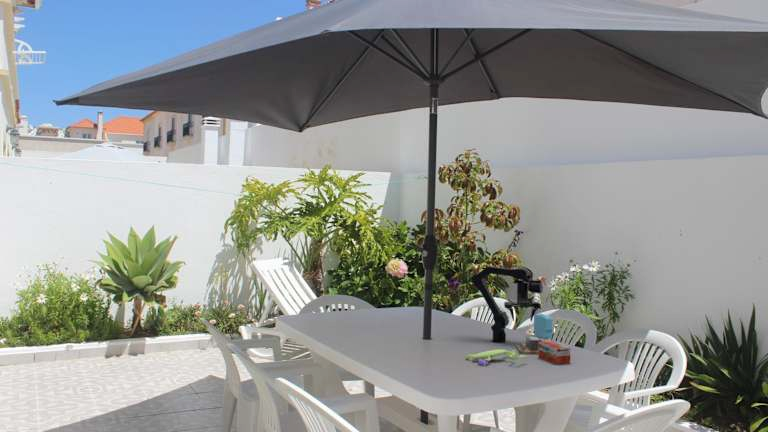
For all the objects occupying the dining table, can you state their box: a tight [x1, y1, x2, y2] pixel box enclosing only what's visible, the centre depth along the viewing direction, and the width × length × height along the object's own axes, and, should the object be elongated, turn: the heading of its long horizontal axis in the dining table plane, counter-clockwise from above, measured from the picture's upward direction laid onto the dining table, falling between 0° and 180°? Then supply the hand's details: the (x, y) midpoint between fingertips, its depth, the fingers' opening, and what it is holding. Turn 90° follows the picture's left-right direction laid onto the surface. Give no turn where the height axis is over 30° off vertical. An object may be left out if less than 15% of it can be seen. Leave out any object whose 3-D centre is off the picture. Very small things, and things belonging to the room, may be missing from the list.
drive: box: [525, 336, 543, 351], centre depth 337 cm, size 6×10×5 cm, turn 179°
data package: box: [533, 313, 553, 339], centre depth 374 cm, size 12×4×12 cm, turn 19°
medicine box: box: [538, 340, 571, 365], centre depth 316 cm, size 15×8×8 cm, turn 21°
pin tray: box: [515, 340, 545, 355], centre depth 337 cm, size 16×16×4 cm
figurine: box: [466, 349, 528, 367], centre depth 313 cm, size 18×27×6 cm
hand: (522, 321), depth 354 cm, fingers open, 9 cm apart
